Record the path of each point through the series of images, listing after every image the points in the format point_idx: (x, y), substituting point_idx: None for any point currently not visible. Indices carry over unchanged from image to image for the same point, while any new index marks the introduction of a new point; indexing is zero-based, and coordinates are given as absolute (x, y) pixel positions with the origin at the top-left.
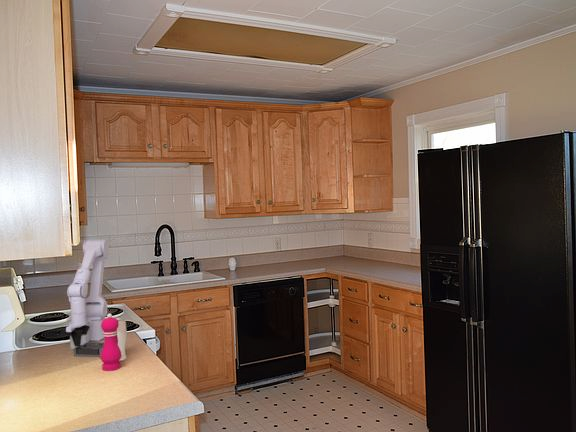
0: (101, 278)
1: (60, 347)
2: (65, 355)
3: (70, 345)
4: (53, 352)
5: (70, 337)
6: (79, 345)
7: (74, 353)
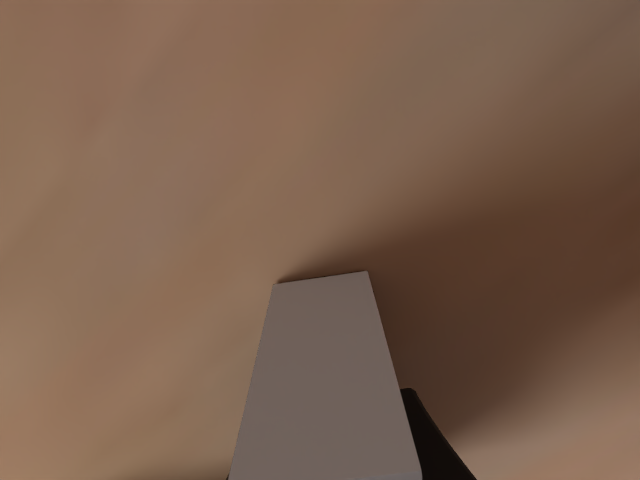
0: None
1: (311, 3)
2: (25, 421)
3: (265, 321)
4: (19, 142)
5: (239, 460)
6: None
7: None
